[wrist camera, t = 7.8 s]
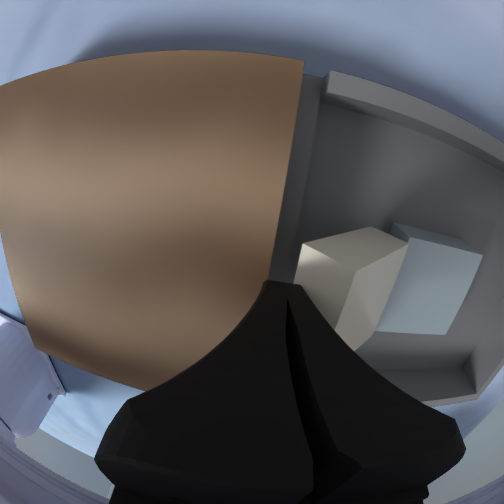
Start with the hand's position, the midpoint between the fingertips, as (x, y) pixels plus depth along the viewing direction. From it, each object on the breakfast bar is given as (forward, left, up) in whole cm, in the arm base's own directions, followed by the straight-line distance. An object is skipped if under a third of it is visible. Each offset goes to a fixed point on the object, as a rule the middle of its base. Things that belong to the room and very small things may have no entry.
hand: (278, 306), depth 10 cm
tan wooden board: (0, +7, -5) cm, 9 cm away
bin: (0, -9, -5) cm, 10 cm away
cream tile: (0, -2, -2) cm, 3 cm away
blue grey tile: (0, -8, -2) cm, 8 cm away
